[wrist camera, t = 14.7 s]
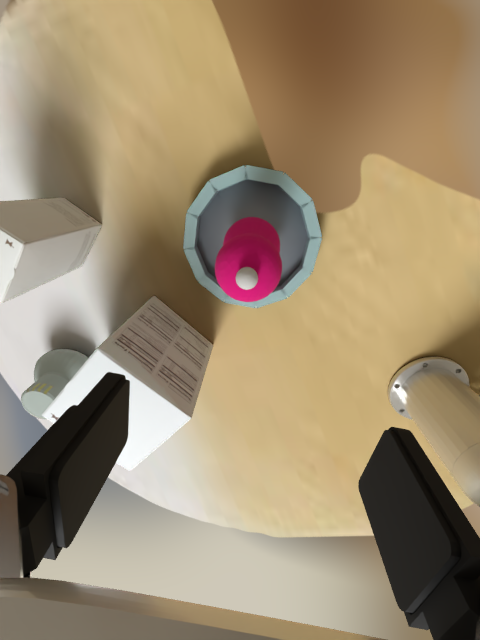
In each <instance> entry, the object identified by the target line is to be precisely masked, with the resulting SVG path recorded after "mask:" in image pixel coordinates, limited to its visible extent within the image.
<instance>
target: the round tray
mask: <svg viewBox="0 0 480 640" xmlns="http://www.w3.org/2000/svg"><path fill="white" fill-rule="evenodd" d="M187 212H188V213H186V222H185V233H184V245H183V248H184V252H185V255H186V257H187V259H188V262H189V264H190V266H191V268H192V271H193V273H194V275H195V278H196V280H197V281H198V280H199V281H198V283H200V284H201V285H202V286H203V287H205V288H206V289H207V290H209V291H210V292H211V293H212V294H214V295H215V296H216V297H217V298H219V299H220V300H221V301H222V302H223V301H224V300H225V302H224V303H230V304H235V305H241V306H246V307H252V308H255V307H257V308H259V307H262V306H265V305H268V304H271V303H274V302H277V301H280V300H283V299H287V297H289V296H290V295H291V294H292V293H293V292H294V291H295V290H296V289H297V288H298V287H299V286H300V285H301V284H302V283H303V282H304V281H305V280H306V279H307V278H308V277H309V276H310V275H311V274H312V273H311V272H313V269H314V265H315V261H316V258H317V254H318V251H319V247H320V244H321V240H322V238H321V237H322V234H321V230H320V226H319V222H318V218H317V214H316V210H315V206H314V202H313V200H312V198H311V197H310V196H309V195H308V194H306V193H305V192H304V191H303V190H302V189H301V188H300V187H299V186H298V185H297V184H296V183H295V182H294V181H293V180H292V179H291V178H290V177H289V176H288V175H287V174H286V173H284V174H283V172H282V171H276V170H271V169H266V168H260V167H255V166H250V165H246V168H245V165H243V166H241V167H238V168H236V169H234V170H231V171H229V172H227V173H224V174H222V175H220V176H217V177H215V178H213V179H210V181H208V182H207V183H206V185H205V186H204V188H203V189H202V190H201V192H200V193H199V195H198V196H197V198H196V199H195V200H194V202H193V203H192V205H191V206H190V208H189V209H188V210H187ZM247 217H257V218H261V219H263V220H265V221H267V222H269V223H270V224H271V225H272V226H273V227H274V228H275V230H276V231H277V234H278V236H279V239H280V253H279V254H280V257H281V260H282V274H281V278H280V281H279V283H278V285H277V287H276V288H275V290H274V291H273V292H272V293H271V294H269V295H268V296H267V297H265V298H263V299H261V300H258V301H254V302H243V301H238V300H235V299H233V298H231V297H230V296H228V295H227V294H226V293H225V292H224V291H223V290H222V288H221V287H220V285H219V284H218V282H217V279H216V275H215V262H216V257H217V255H218V252H219V250H220V249H221V248H222V246H223V242H224V238H225V235H226V233H227V231H228V229H229V228H230V227H231V226H232V225H233V224H234V223H235V222H237V221H238V220H240V219H243V218H247Z"/></svg>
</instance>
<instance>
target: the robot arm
mask: <svg viewBox="0 0 480 640" xmlns="http://www.w3.org/2000/svg"><path fill="white" fill-rule="evenodd" d="M129 396H130V381H129V380H126V377H125V375H122V374H117V373H112V372H107V373H106V374H105V375H104V376H103V378H102V379H101V380H100V381H99V382H98V383H97V384H96V385H95V387H94V388H93V389H92V390H91V391H90V392H89V393H88V394H87V396H86V397H85V398H84V399H83V400H82V401H81V402H80V403H79V405H78V406H77V405H73V406H71V407H69V408H68V409H67V410H66V411H65V412H64V413H63V414H62V416H61V417H60V418H59V419H58V420H57V421H56V422H55V423H54V424H53V425H52V426H51V427H50V429H49V430H48V431H47V432H46V433H45V434H44V435H43V436H42V437H41V439H40V440H39V441H38V442H37V443H36V444H35V445H34V446H33V447H32V448H31V449H30V451H28V453H27V454H26V455H25V456H24V457H23V458H22V459H21V460H20V461H19V462H18V464H16V465H15V467H14V468H13V469H12V470H11V471H10V472H9V473H8V474H7V475H6V476H5V475H0V640H385V639H380V638H375V637H369V636H365V635H359V634H354V633H349V632H344V631H339V630H334V629H329V628H323V627H318V626H313V625H308V624H302V623H297V622H292V621H286V620H281V619H276V618H270V617H265V616H259V615H254V614H248V613H243V612H238V611H232V610H227V609H222V608H216V607H211V606H206V605H200V604H195V603H189V602H183V601H178V600H173V599H167V598H161V597H156V596H150V595H144V594H139V593H133V592H128V591H122V590H117V589H110V588H103V587H98V586H91V585H85V584H79V583H73V582H66V581H58V580H48V579H38V578H32V571H33V570H34V569H36V568H37V567H38V565H39V563H40V562H41V560H42V559H43V558H47V559H53V560H56V558H57V556H58V554H59V553H60V551H61V549H62V547H64V548H67V547H69V545H70V544H71V542H72V541H73V539H74V537H75V535H76V534H77V532H78V530H79V528H80V526H81V524H82V523H83V521H84V519H85V517H86V516H87V514H88V512H89V510H90V508H91V506H92V505H93V503H94V501H95V499H96V497H97V496H98V494H99V492H100V490H101V488H102V487H103V485H104V483H105V481H106V479H107V477H108V476H109V474H110V472H111V470H112V468H113V467H114V465H115V463H116V461H117V459H118V458H119V456H120V454H121V452H122V450H123V448H124V447H125V445H126V442H127V439H128V426H129ZM388 398H389V401H390V403H391V405H392V406H393V408H394V409H395V411H396V412H398V413H399V414H400V415H402V416H404V417H406V418H409V419H413V421H414V422H415V424H416V425H417V427H418V428H419V429H420V431H421V432H422V434H423V435H424V437H425V438H426V440H427V441H428V442H429V444H430V445H431V447H432V448H433V450H434V451H435V453H436V454H437V455H438V457H439V458H440V460H441V461H442V463H443V464H444V466H445V467H446V468H447V470H448V471H449V473H450V474H451V476H452V477H453V479H454V480H455V482H456V483H457V484H458V486H459V487H460V489H461V490H462V491H463V493H464V494H465V495H466V496H467V497H468V498H469V499H470V500H471V501H472V502H474V503H475V504H476V505H477V506H479V507H480V395H478V394H476V393H475V392H474V391H473V390H472V389H471V388H470V387H469V378H468V375H467V373H466V371H465V370H464V369H463V368H462V367H461V366H460V365H459V364H457V363H456V362H454V361H453V360H450V359H448V358H443V357H426V358H421V359H418V360H415V361H413V362H411V363H409V364H407V365H406V366H404V367H402V368H401V369H400V370H399V371H398V372H397V373H396V374H395V375H394V377H393V378H392V380H391V382H390V384H389V388H388ZM359 492H360V495H361V498H362V501H363V503H364V506H365V509H366V512H367V515H368V518H369V521H370V524H371V527H372V530H373V533H374V536H375V539H376V542H377V545H378V548H379V551H380V554H381V557H382V560H383V563H384V566H385V569H386V572H387V575H388V578H389V581H390V584H391V587H392V590H393V593H394V596H395V599H396V602H397V604H398V606H399V608H400V609H401V610H402V611H404V613H405V616H406V619H407V622H408V625H409V626H410V627H415V628H420V629H425V630H428V629H430V632H431V634H432V637H433V639H434V640H480V538H479V537H478V535H477V534H476V532H475V530H474V529H473V527H472V526H471V524H470V523H469V521H468V519H467V518H466V516H465V515H464V513H463V512H462V510H461V509H460V507H459V505H458V504H457V502H456V501H455V499H454V498H453V496H452V495H451V493H450V491H449V490H448V488H447V487H446V485H445V484H444V482H443V481H442V479H441V477H440V476H439V474H438V473H437V471H436V470H435V468H434V467H433V465H432V463H431V462H430V460H429V459H428V457H427V456H426V454H425V453H424V451H423V449H422V448H421V446H420V445H419V443H418V442H417V440H416V439H415V437H414V435H413V434H412V433H411V431H409V430H406V429H401V428H396V427H391V428H389V430H385V431H384V433H383V434H382V436H381V438H380V440H379V442H378V444H377V446H376V448H375V450H374V452H373V454H372V456H371V458H370V460H369V462H368V464H367V466H366V468H365V470H364V472H363V474H362V475H361V477H360V480H359Z"/></svg>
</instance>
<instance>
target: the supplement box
mask: <svg viewBox="0 0 480 640" xmlns="http://www.w3.org/2000/svg"><path fill="white" fill-rule="evenodd" d="M212 348H213V344H212V343H210V342H209V341H208V340H207V339H206V338H204V337H203V336H202V335H201V334H200V333H199V332H197V331H196V330H195V329H194V328H193V327H191V326H190V325H189V324H188V323H187V322H186V321H184V320H183V319H182V318H181V317H180V316H178V315H177V314H176V313H175V312H174V311H172V310H171V309H170V308H169V307H168V306H166V305H165V304H164V303H163V302H162V301H161V300H159V299H158V298H157V297H156V296H153V297H151V298H150V299H149V300H148V301H147V302H146V303H145V304H144V305H143V306H142V307H141V308H140V309H138V310H137V311H136V312H135V313H134V314H133V315H132V316H131V317H130V318H129V319H128V320H127V321H126V322H124V323H123V324H122V325H121V326H120V327H119V328H118V329H117V330H116V331H115V332H114V333H112V334H111V335H110V336H109V337H108V338H107V339H106V340H105V341H104V342H103V343H102V344H101V345H100V346H99V347H98V348H97V349H96V350H95V351H94V352H93V354H92V355H91V356H90V357H89V358H88V360H87V361H86V362H85V363H84V364H83V366H82V367H81V368H80V369H79V370H78V372H77V373H76V374H75V375H74V377H73V378H72V379H71V380H70V381H69V382H68V383H67V384H66V386H65V387H64V389H63V390H62V391H61V392H60V393H59V395H58V396H57V397H56V398H55V399H54V401H53V402H52V403H51V404H50V405H49V407H48V408H47V409H46V410H45V411H44V412H43V414H42V416H43V417H45V418H46V419H48V420H49V421H51V422H52V423H55V422H56V421H57V420H58V419H59V418H60V417H61V416H62V414H63V413H64V412H65V411H66V410H67V409H68V408H69V407H71V406H73V405H77V406H78V405H79V403H80V402H81V401H82V400H83V399H84V398H85V397H86V396H87V394H88V393H89V392H90V391H91V390H92V389H93V388H94V387H95V385H96V384H97V383H98V382H99V381H100V380H101V379H102V378H103V376H104V375H105V374H106V373H107V372H112V373H117V374H122V375H125V377H126V380H129V381H130V396H129V426H128V439H127V442H126V445H125V447H124V448H123V450H122V452H121V454H120V456H119V458H118V459H117V461H116V463H117V464H119V465H120V466H122V467H123V468H125V469H127V470H128V471H131V470H132V469H133V468H135V467H136V466H137V465H138V464H139V463H140V462H142V461H143V460H144V459H145V458H146V457H147V456H149V455H150V454H151V453H152V452H153V451H154V450H156V449H157V448H158V447H159V446H160V445H161V444H163V443H164V442H165V441H166V440H167V439H168V438H170V437H171V436H172V435H173V434H174V433H175V432H176V431H178V430H179V429H180V428H181V427H182V426H183V425H184V424H186V423H187V422H188V421H189V420H190V419H191V418H192V414H193V411H194V408H195V404H196V401H197V398H198V394H199V391H200V388H201V384H202V381H203V378H204V374H205V371H206V368H207V364H208V361H209V358H210V355H211V351H212Z"/></svg>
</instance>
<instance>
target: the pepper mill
mask: <svg viewBox="0 0 480 640" xmlns="http://www.w3.org/2000/svg"><path fill="white" fill-rule="evenodd" d="M279 253H280V239H279V236H278V234H277V231H276V230H275V228H274V227H273V226H272V225H271V224H270V223H269V222H267V221H265V220H263V219H261V218H257V217H247V218H243V219H240V220H238V221H237V222H235V223H234V224H233V225H232V226H231V227H230V228H229V229H228V231H227V233H226V235H225V238H224V242H223V246H222V248H221V249H220V250H219V252H218V255H217V257H216V262H215V275H216V279H217V282H218V284H219V285H220V287H221V288H222V290H223V291H224V292H225V293H226V294H227V295H228V296H230V297H231V298H233V299H235V300H238V301H243V302H254V301H258V300H261V299H263V298H265V297H267V296H268V295H269V294H271V293H272V292H273V291H274V290H275V288H276V287H277V285H278V283H279V281H280V278H281V274H282V260H281V257H280V254H279Z"/></svg>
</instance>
